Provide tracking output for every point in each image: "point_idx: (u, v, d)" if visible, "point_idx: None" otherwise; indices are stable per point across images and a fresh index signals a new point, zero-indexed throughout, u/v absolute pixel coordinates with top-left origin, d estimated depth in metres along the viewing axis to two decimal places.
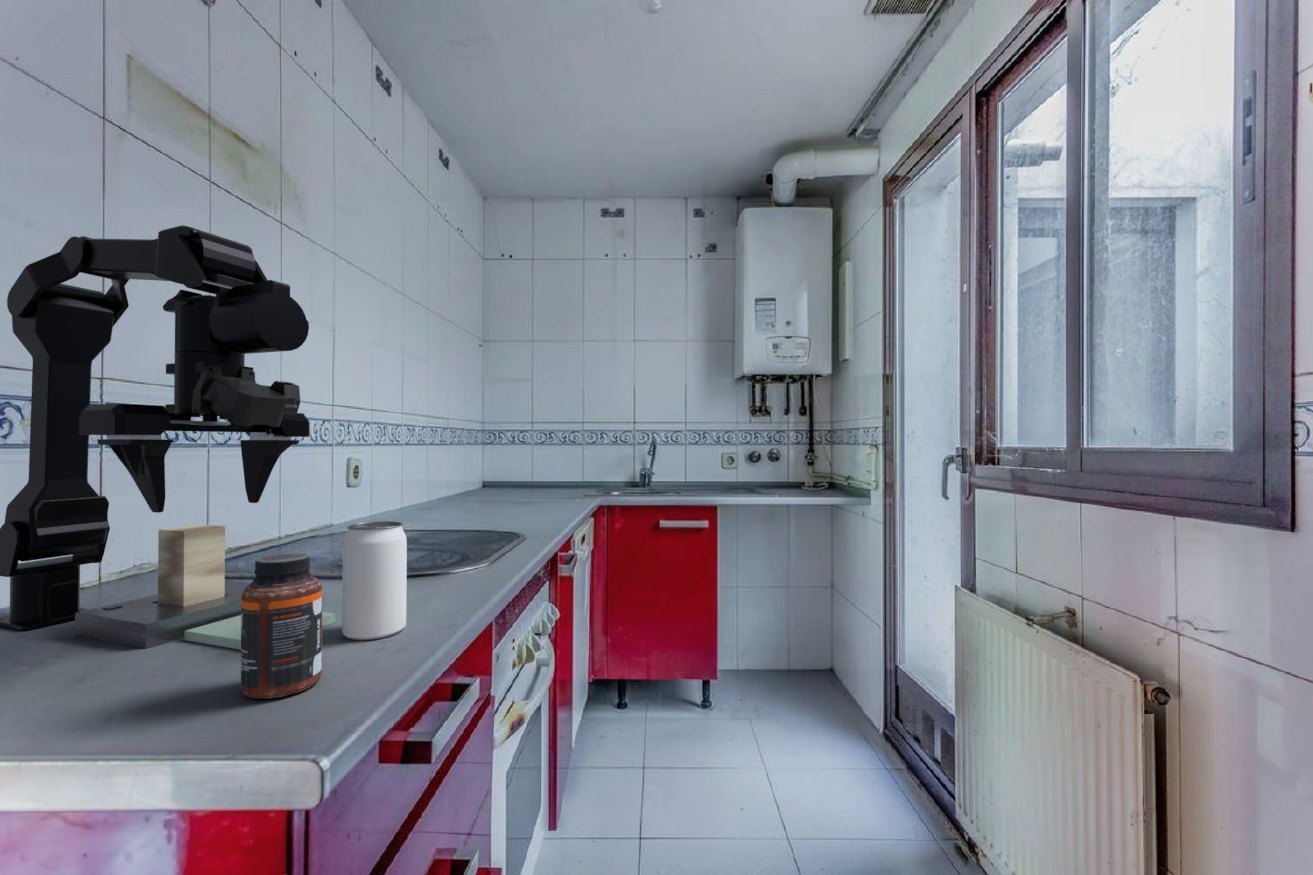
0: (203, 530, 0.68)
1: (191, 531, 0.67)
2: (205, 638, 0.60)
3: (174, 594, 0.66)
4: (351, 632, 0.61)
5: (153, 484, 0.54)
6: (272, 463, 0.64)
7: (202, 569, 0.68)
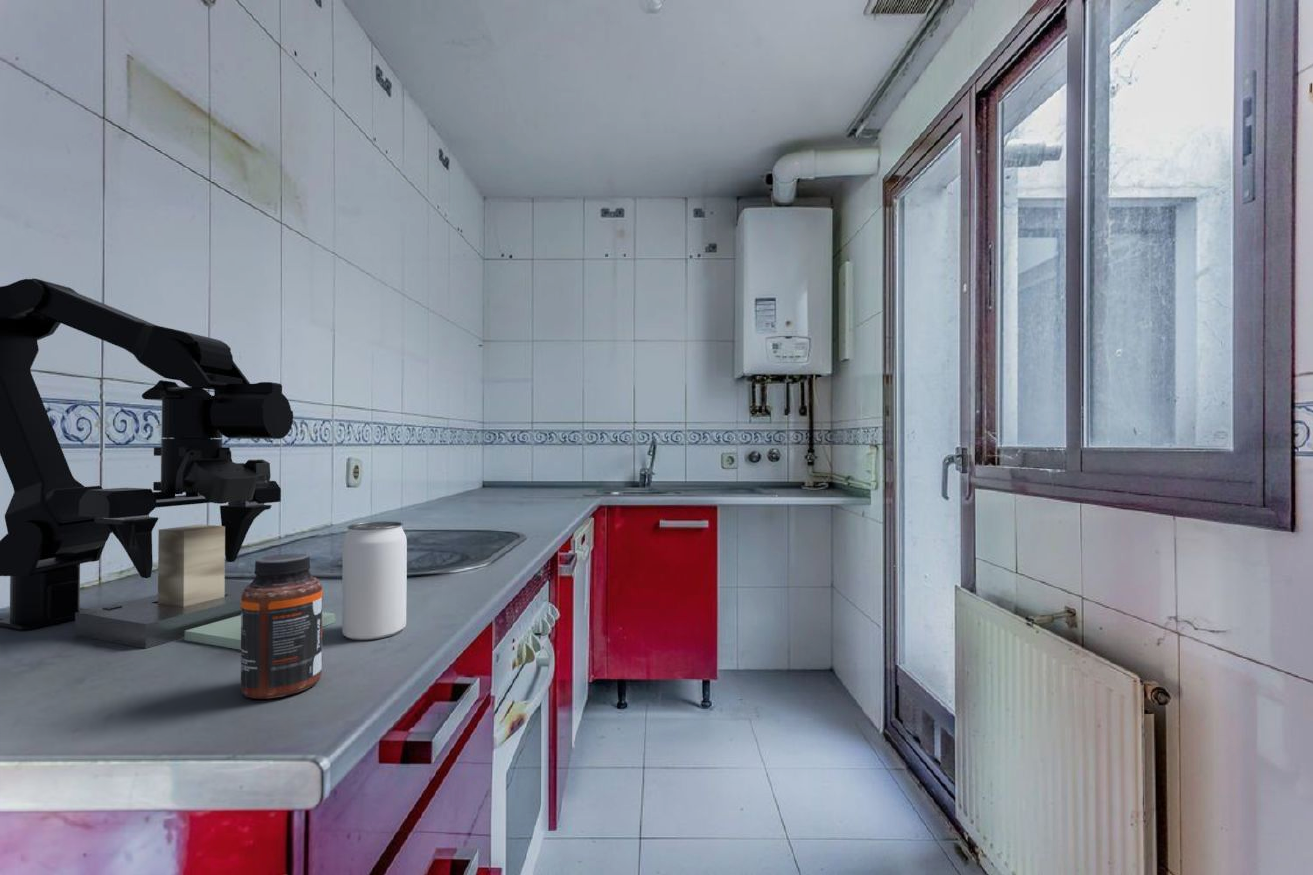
0: (203, 530, 0.68)
1: (191, 531, 0.67)
2: (205, 638, 0.60)
3: (173, 594, 0.66)
4: (351, 632, 0.61)
5: (142, 555, 0.63)
6: (247, 526, 0.74)
7: (202, 570, 0.68)
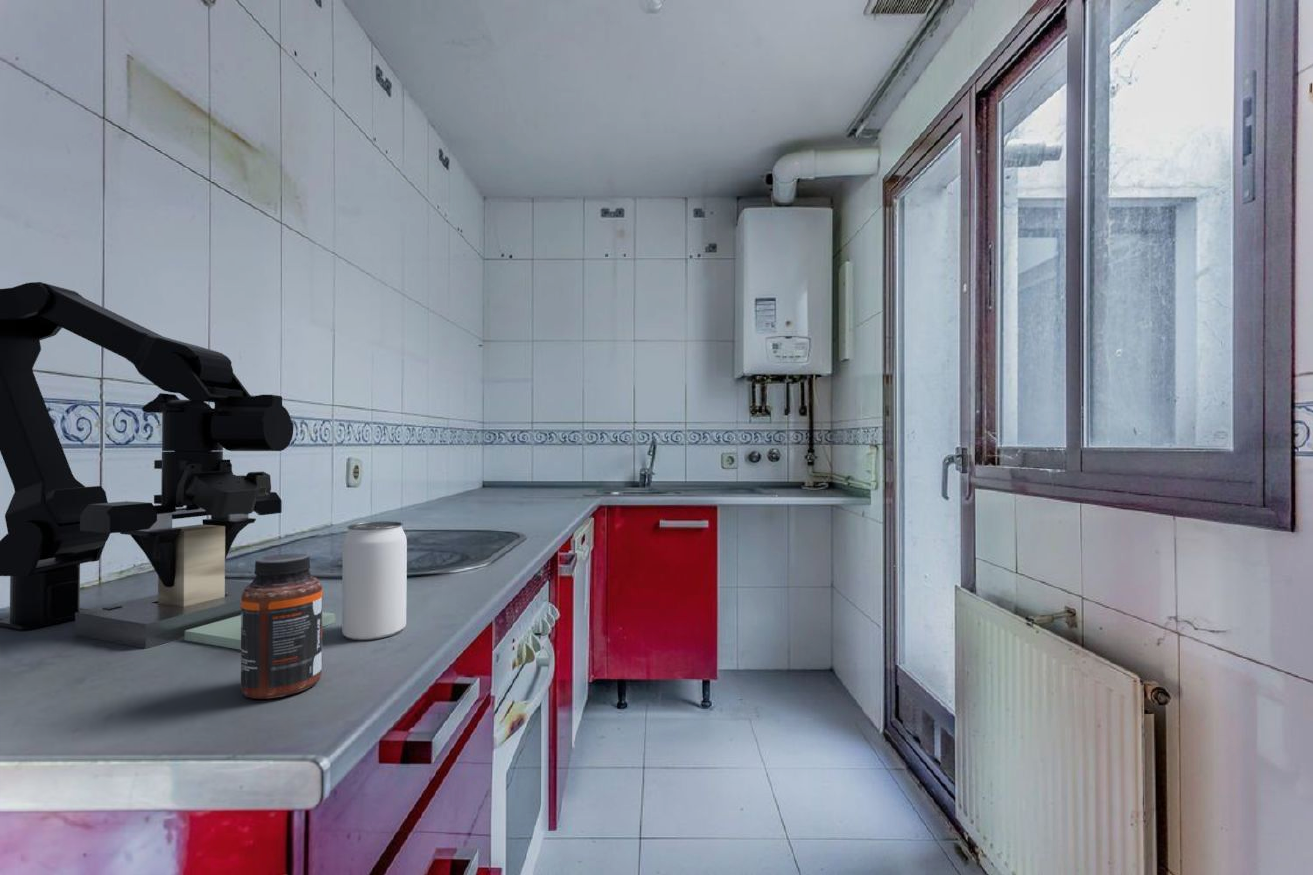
0: (203, 530, 0.68)
1: (191, 531, 0.67)
2: (205, 638, 0.60)
3: (174, 594, 0.66)
4: (351, 632, 0.61)
5: (165, 565, 0.65)
6: (230, 541, 0.72)
7: (202, 569, 0.68)
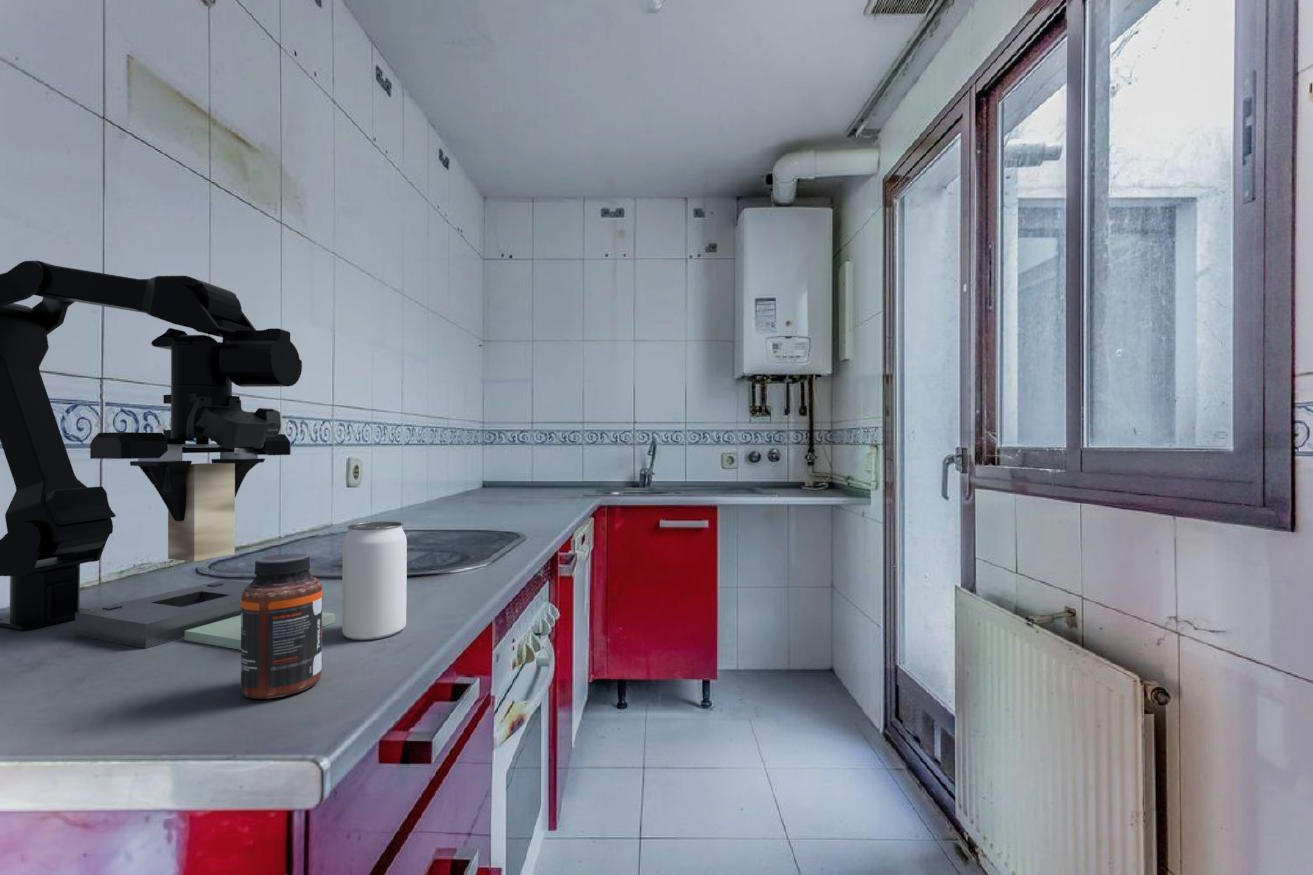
0: (213, 465, 0.67)
1: (201, 465, 0.66)
2: (205, 638, 0.60)
3: (184, 528, 0.66)
4: (351, 632, 0.61)
5: (176, 497, 0.65)
6: (240, 480, 0.71)
7: (212, 505, 0.67)
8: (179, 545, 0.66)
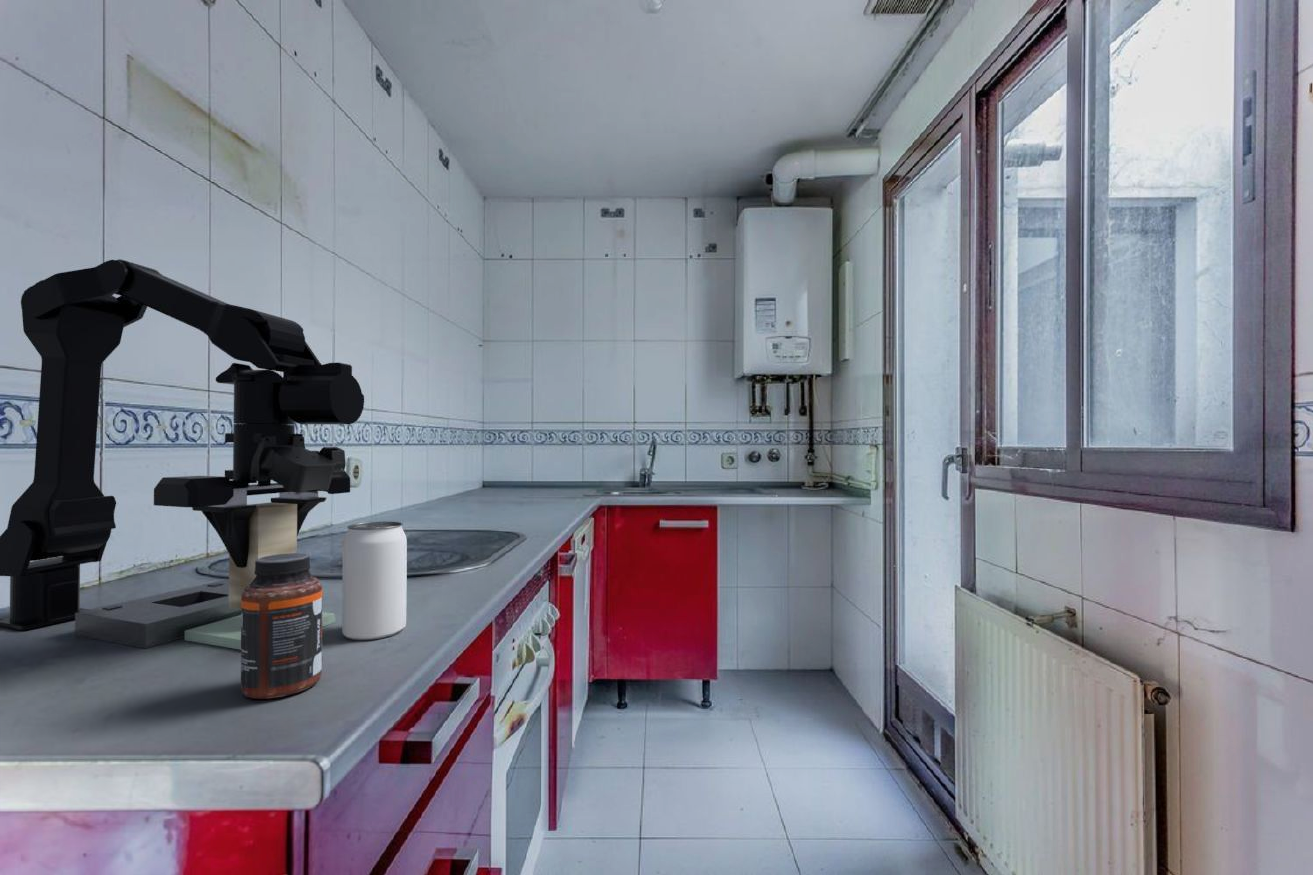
0: (276, 507, 0.64)
1: (265, 508, 0.63)
2: (205, 638, 0.60)
3: (247, 575, 0.62)
4: (351, 632, 0.61)
5: (239, 544, 0.61)
6: (301, 521, 0.68)
7: (275, 549, 0.64)
8: (241, 592, 0.63)
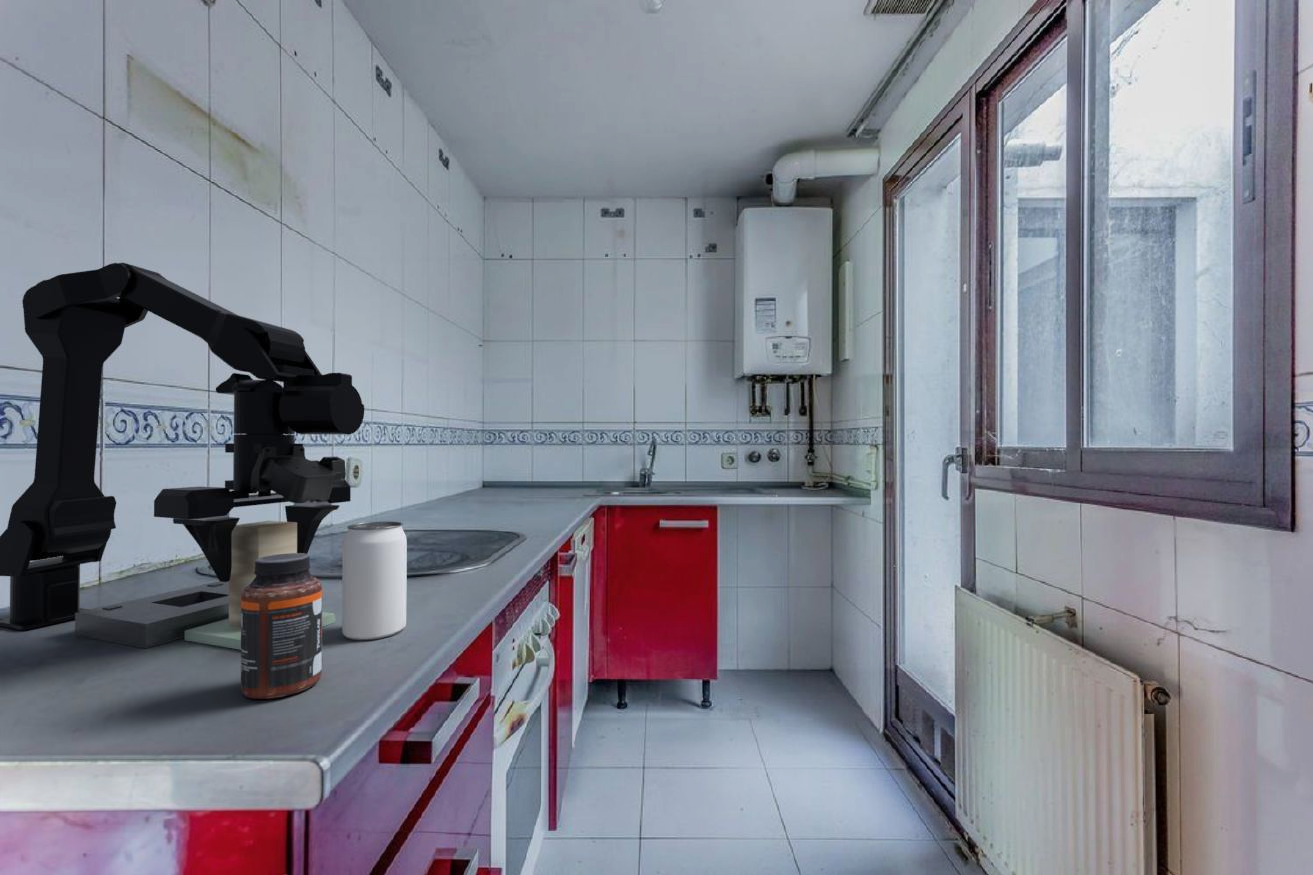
0: (276, 526, 0.64)
1: (265, 527, 0.63)
2: (205, 638, 0.60)
3: None
4: (351, 632, 0.61)
5: (222, 557, 0.59)
6: (315, 528, 0.69)
7: None
8: None
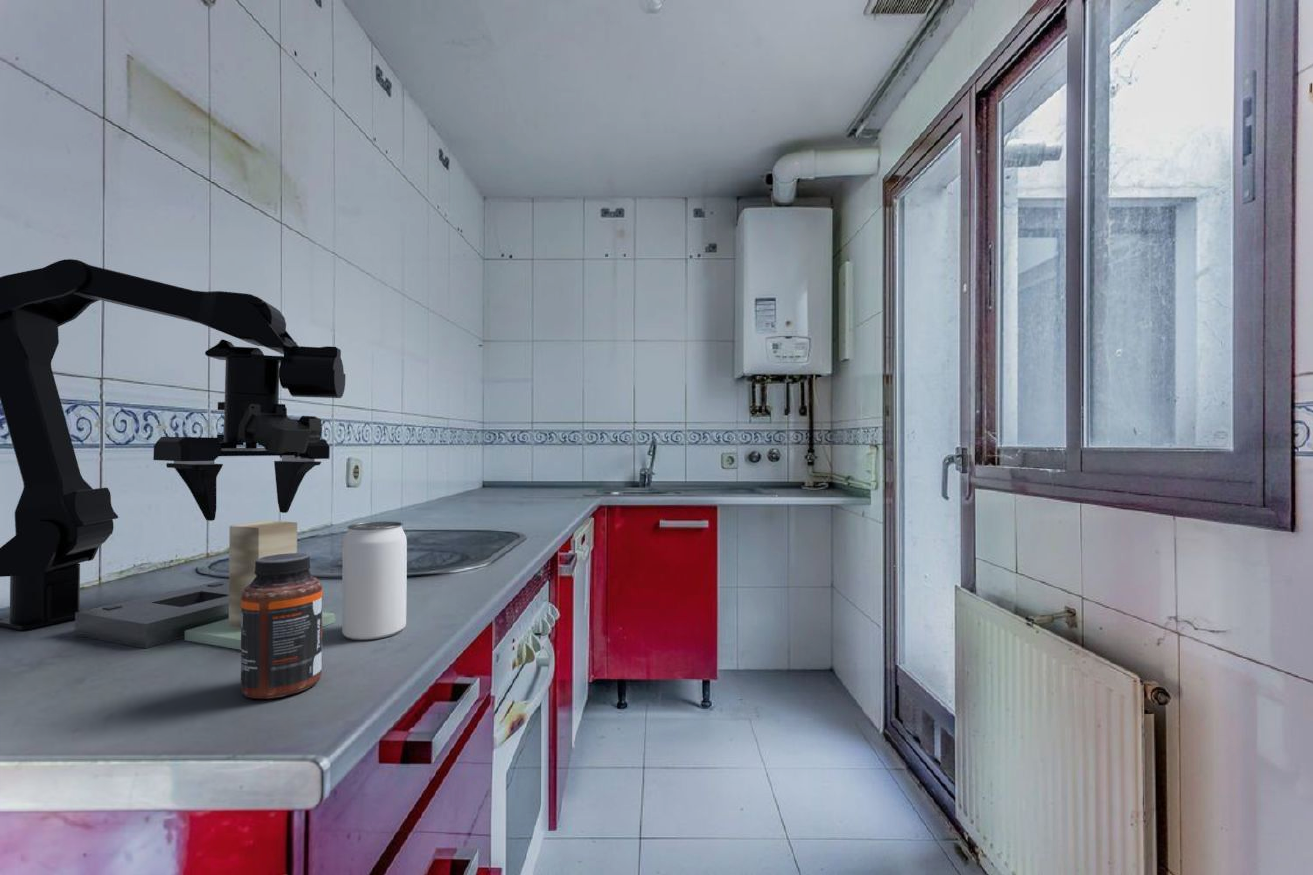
0: (276, 526, 0.64)
1: (265, 527, 0.63)
2: (205, 638, 0.60)
3: None
4: (351, 632, 0.61)
5: (207, 498, 0.68)
6: (299, 480, 0.79)
7: None
8: None
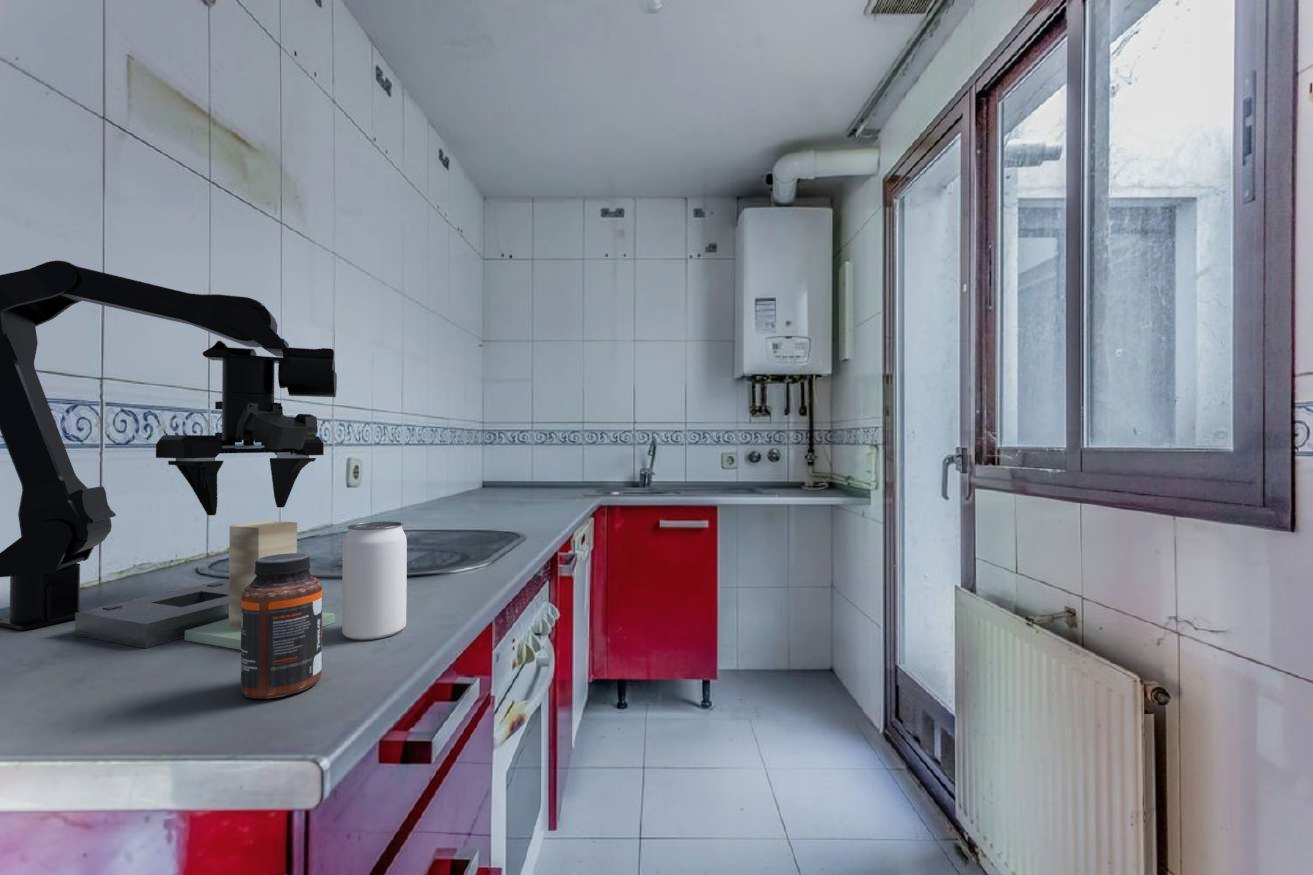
0: (276, 526, 0.64)
1: (265, 527, 0.63)
2: (205, 638, 0.60)
3: None
4: (351, 632, 0.61)
5: (209, 494, 0.71)
6: (295, 476, 0.82)
7: None
8: None
